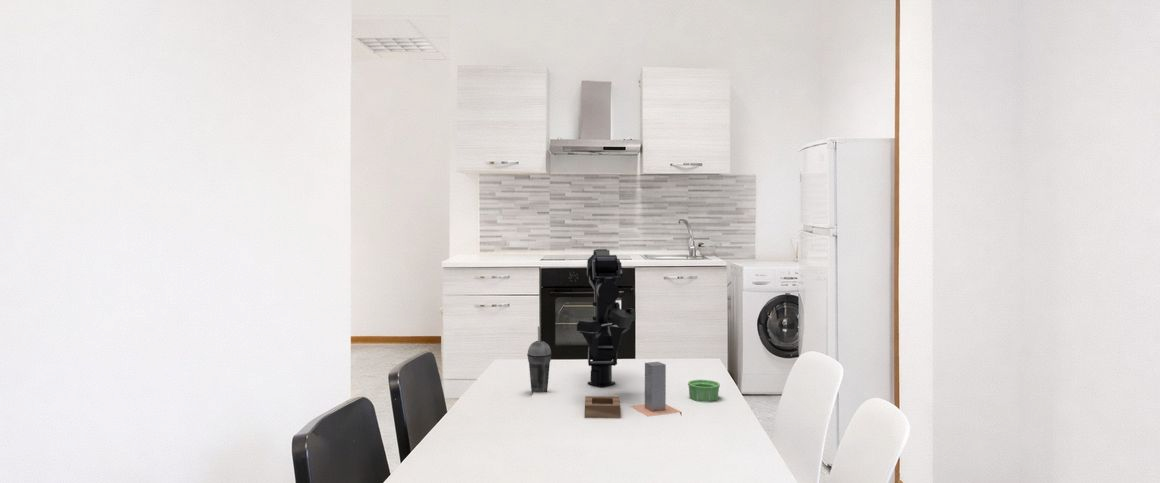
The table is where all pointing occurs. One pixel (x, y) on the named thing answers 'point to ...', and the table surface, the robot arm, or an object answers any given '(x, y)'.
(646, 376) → the peg
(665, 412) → the mat
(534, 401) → the table surface
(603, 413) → the socket block
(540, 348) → the beverage cup
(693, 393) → the ramekin
